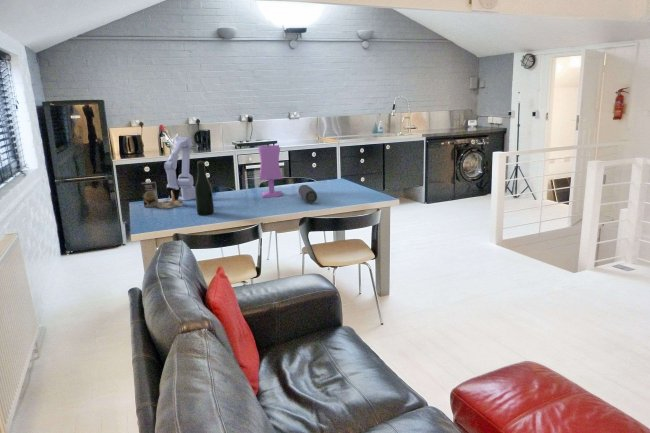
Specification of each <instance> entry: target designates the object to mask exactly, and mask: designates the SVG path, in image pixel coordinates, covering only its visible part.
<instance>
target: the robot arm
mask: <svg viewBox="0 0 650 433" xmlns="http://www.w3.org/2000/svg"><path fill="white" fill-rule="evenodd" d="M174 145H175V146H174V148H173V152H170V155H169V156H168V159H167V161H165V162H164V163H163V167H164V168H163V169H164V170H165V173H166V178H167V184H166V188H165V190H166V191H167V194H168V196H169V199H172V196H171V191H172V192H173V194H174V198H175V200H181V201H184V202H185V201H190V200H196V195H195V187H196V186H194V177H193V175H192V174H191V173H190V162H191V161H190V159H191V156H190V155H191V150H192V140H191V137H190V136H187V137H186V136H185V137H179V136H176V137H175V139H174ZM181 151H182V154H181V155H182V156H181V173H180V174H179V175H178V178H177V173H176V169H177V164H178V161H179V158H180V156H179V154H180V152H181ZM180 192H181V197H180V198H179V196H180Z"/></svg>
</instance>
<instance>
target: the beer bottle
mask: <svg viewBox="0 0 650 433" xmlns="http://www.w3.org/2000/svg"><path fill="white" fill-rule="evenodd" d="M196 166H197V180H196V183H195V186H194V187H195V195H196V199H195V206H196V214H197V215H198V216H209V215H212V214H214V213H215V204H214V196H213V189H212V186H211V185H212V184H211V183H210V181H209V179H208V177H207V173H206V167H205V166H206V165H205V162H204V161H203V160H199V161H197V164H196Z"/></svg>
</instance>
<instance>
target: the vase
mask: <svg viewBox="0 0 650 433" xmlns="http://www.w3.org/2000/svg"><path fill="white" fill-rule="evenodd" d="M257 150H258V154H259V157H260V158H259V159H260V170H259V180H260V181H263V180H264V181H268V182H267V183H268V191H262V192H261V193H262V198H278V197H283V194H282V191H281V190H278V191H276V190H275V181H274V180H283V174H282V172H281V171H282V170H281V168H280V161H279V160H280V151H281V147H280V145H279V144H276V145H275V144H274V145H260V146H259V145H258V146H257Z"/></svg>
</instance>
